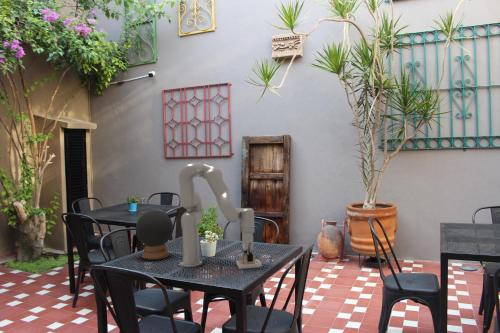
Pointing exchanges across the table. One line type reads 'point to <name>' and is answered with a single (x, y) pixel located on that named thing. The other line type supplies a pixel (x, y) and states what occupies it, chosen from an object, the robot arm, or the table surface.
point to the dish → (242, 266)
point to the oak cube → (246, 259)
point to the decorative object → (154, 234)
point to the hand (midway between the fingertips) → (248, 259)
